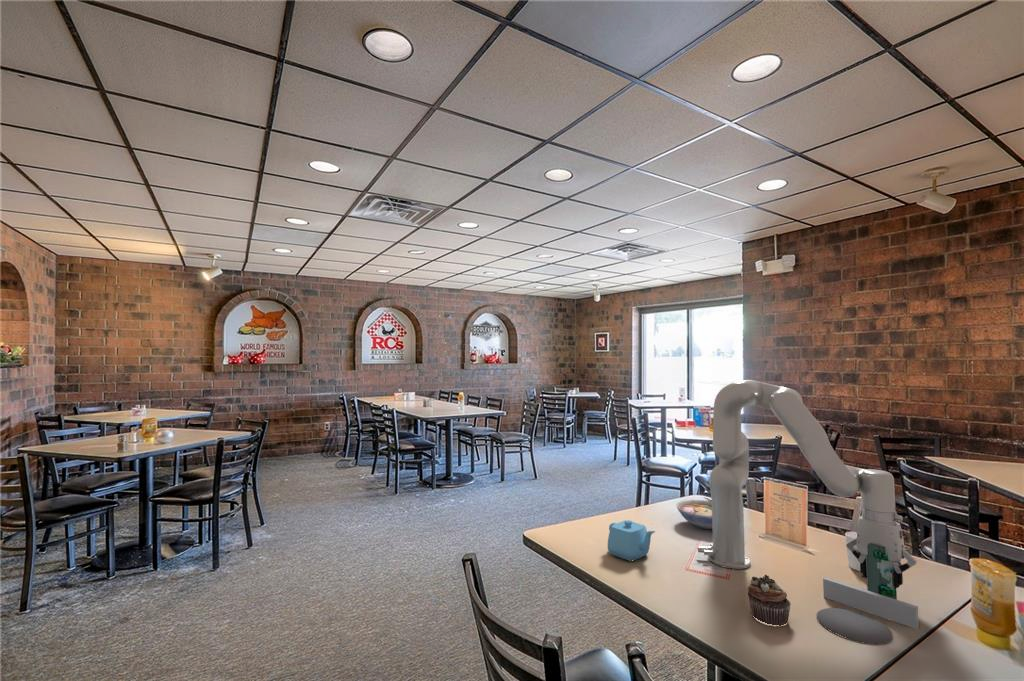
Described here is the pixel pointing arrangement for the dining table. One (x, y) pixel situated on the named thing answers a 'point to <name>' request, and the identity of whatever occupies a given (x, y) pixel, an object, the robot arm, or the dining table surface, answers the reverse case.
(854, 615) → the mat
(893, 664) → the dining table surface
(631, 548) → the teapot
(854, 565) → the white cup
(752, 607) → the cupcake
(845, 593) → the panel
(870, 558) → the can
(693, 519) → the ramen bowl
